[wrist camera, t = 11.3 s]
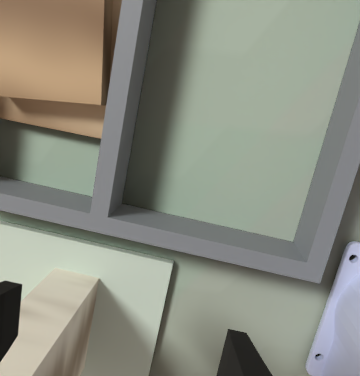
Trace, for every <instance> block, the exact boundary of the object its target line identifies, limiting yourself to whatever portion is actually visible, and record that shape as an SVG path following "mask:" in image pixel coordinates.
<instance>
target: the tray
mask: <svg viewBox="0 0 360 376" xmlns="http://www.w3.org/2000/svg"><path fill="white" fill-rule="evenodd" d="M156 1H157V0H122V4H121V11H120V17H119V24H118V30H117V37H116V44H115V50H114V57H113V64H112V70H111V77H110V84H109V90H108V97H107V104H106V110H105V117H104V124H103V130H102V137H101V143H100V150H99V157H98V163H97V170H96V177H95V183H94V190H93V197H90V196H86V195H82V194H77V193H73V192H68V191H64V190H59V189H55V188H50V187H46V186H42V185H37V184H33V183H28V182H24V181H19V180H15V179H10V178H6V177H1V176H0V210H1V211H5V212H10V213H14V214H18V215H23V216H27V217H31V218H36V219H40V220H44V221H49V222H53V223H58V224H62V225H66V226H71V227H75V228H79V229H84V230H88V231H92V232H97V233H101V234H105V235H110V236H114V237H118V238H123V239H127V240H132V241H136V242H140V243H145V244H149V245H153V246H158V247H162V248H166V249H171V250H175V251H179V252H184V253H188V254H193V255H197V256H201V257H206V258H210V259H214V260H219V261H223V262H227V263H232V264H236V265H240V266H245V267H249V268H254V269H258V270H262V271H267V272H271V273H275V274H280V275H284V276H288V277H293V278H297V279H301V280H306V281H310V282H314V283H319V284H320V282H321V279H322V276H323V273H324V270H325V267H326V264H327V261H328V258H329V255H330V252H331V249H332V246H333V243H334V240H335V237H336V234H337V231H338V228H339V225H340V222H341V219H342V216H343V213H344V210H345V207H346V204H347V201H348V198H349V195H350V192H351V189H352V186H353V182H354V179H355V176H356V173H357V170H358V167H359V164H360V23H359V26H358V29H357V33H356V36H355V39H354V43H353V46H352V49H351V53H350V56H349V59H348V63H347V66H346V69H345V72H344V76H343V79H342V82H341V86H340V89H339V92H338V96H337V99H336V102H335V106H334V109H333V112H332V116H331V119H330V122H329V126H328V129H327V132H326V135H325V139H324V142H323V145H322V149H321V152H320V155H319V159H318V162H317V165H316V169H315V172H314V175H313V179H312V182H311V185H310V189H309V192H308V195H307V198H306V202H305V205H304V208H303V212H302V215H301V218H300V222H299V225H298V228H297V232H296V235H295V238H294V242H290V241H286V240H282V239H277V238H273V237H268V236H264V235H259V234H255V233H250V232H246V231H242V230H237V229H233V228H228V227H224V226H219V225H215V224H210V223H206V222H202V221H197V220H193V219H188V218H184V217H179V216H175V215H170V214H166V213H162V212H157V211H153V210H148V209H144V208H139V207H135V206H130V205H126V204H122V199H123V193H124V188H125V182H126V176H127V170H128V164H129V159H130V153H131V147H132V141H133V135H134V129H135V124H136V118H137V112H138V106H139V100H140V95H141V89H142V83H143V77H144V71H145V65H146V60H147V54H148V48H149V42H150V36H151V31H152V25H153V19H154V13H155V7H156Z"/></svg>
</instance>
